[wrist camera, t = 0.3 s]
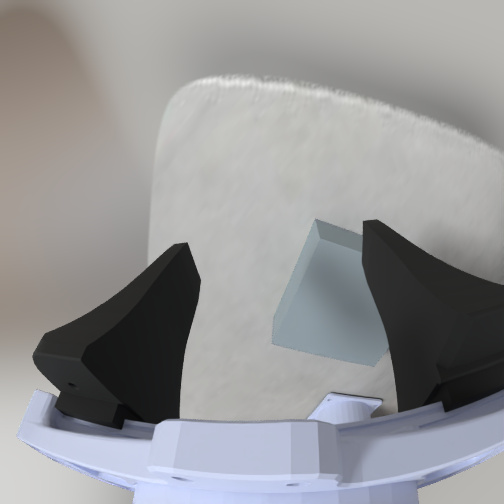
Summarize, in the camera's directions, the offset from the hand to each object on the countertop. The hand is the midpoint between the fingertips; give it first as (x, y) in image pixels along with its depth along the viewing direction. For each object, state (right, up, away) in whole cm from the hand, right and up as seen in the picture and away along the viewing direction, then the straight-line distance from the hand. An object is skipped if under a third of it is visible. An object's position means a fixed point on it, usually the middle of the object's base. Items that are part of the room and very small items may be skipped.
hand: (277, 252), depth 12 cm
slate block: (+7, -3, +13) cm, 15 cm away
